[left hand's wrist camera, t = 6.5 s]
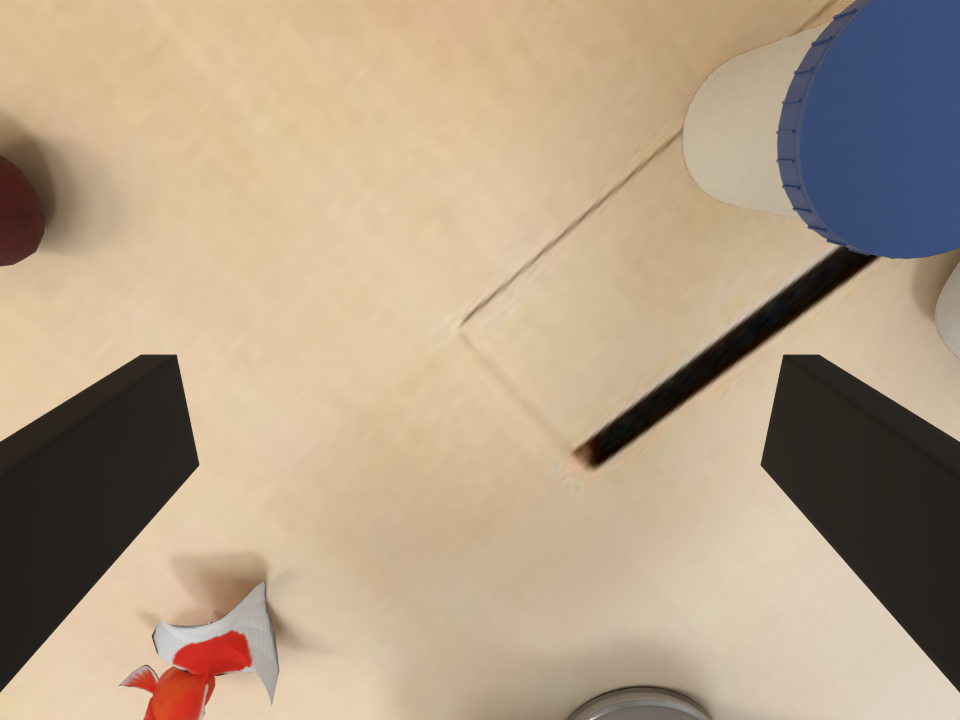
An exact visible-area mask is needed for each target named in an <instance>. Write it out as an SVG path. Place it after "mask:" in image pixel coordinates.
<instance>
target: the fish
mask: <svg viewBox="0 0 960 720" xmlns="http://www.w3.org/2000/svg"><path fill="white" fill-rule="evenodd" d="M265 595H266V590H265V581H262V582H261V583H260V584H258V585H257V586H256V587H255V588H254V589H253V590H252V591H251V592H250V593H249V594H248V595H247V596H246V597H245V598H244V599H243V600H242V601H241V603H239V604H238V605H237V606H236V607H235V608H234V609H232V610H231V611H230V612H229V613H228V614H226V615H225V616H224V617H223V618H221V619H220V620H219V621H216V622H212V623H211V619H212V613H211V616H210V619H209V622H208V624H206V625H196V626H178V625H169V624H167V623H165V622H162V621H159V623H158V625H157V627H156V629H155V631H154V633H153V635H152V639H153V642H154V645H155V648H156V651H157V653H158V654H159V655H160V656H161V657H162V658H163V659H164V660H165V661H167V662H168V663H170V664H171V665H173V667H171V668H170V669H168V670H167V671H166V672H164V673H163V675H162V676H161V677H160V679H159V678H158V676H157V675H156V673H155V672H154V670H153V669H152V668H151V667H150V666H148V665H144V666H142V667H140V668H139V669H137V670H135V671H134V672H132V673H131V674H130V675H129V676H128V677H127V678H126V679H125V680H124V681H123V682H122V683H121V684H120V685H123V686H128V687H136V688H140V689H144V690H146V691H148V692H150V693H152V694H153V697H152V698H151V699H150V701H149V704H148V708H147V711H146V714H145V717H144V720H202V719H203V717H204V713H205V705H206V704H207V702H208V701H209V699H210V697H211V695H212V692H213V690H214V688H215V677H214V676H220V675H224V674H228V673H233V672H237V671H244V672H256V673H257V674H258V675H259V676H260V678H261V679H262V681H263V683H264V685H265V687H266V689H267V692H268V694H269V697H270V700H271V705H272V702H273V697H274V692H275V688H276V683H277V678H278V674H279V664H278V656H277V647H276V639H275V634H274V631H273V627H272V623H271V620H270V616H269V612H268V609H267V605H266V601H265ZM120 685H119V686H120Z"/></svg>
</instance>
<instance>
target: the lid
mask: <svg viewBox="0 0 960 720" xmlns="http://www.w3.org/2000/svg"><path fill="white" fill-rule="evenodd" d="M833 18H834V20H833V21H832V22H831V23H830V24H829V25H828V26H827V27H826V28H825V30H824V31H823V32H822V33H821V34H820V35H819V37H818V38H817V39H816V41H813V42H812V43H811V45H812V46H811V47H810V49H809V50H808V52H807V53H806V55H805V57H804V58H803V60H802V62H801V63H800V65H799V67H798V69H797V70H796V71H794V73H793V74H795V75H794V77H793V79H792V81H791V84H790V86H789V88H788V91H787V94H786V97H785V100H784V101H782V104H783V106H782V111H781V116H780V121H779V126H778V131H776V134H778V137H777V156H778V159H777V160H776V162H778V165H779V171H780V177H781V180H782V183H783V186H782V188H784V189H785V192H786V194H787V196H788V198H789V200H790V202H791V204H792V206H793V207H794V208H792V209H793V211H796V212H797V213H798V214H799V216H800V217H801V218H802V220H803V221H804V222H805V223H806V224H807V225H808V228H809V229H812V230H814V231H815V232H817V233H818V234H820V235H821V236H822V237H824V238H826V239H827V242H830V243H833V244H837V245H841V246H844V247H847V248H849V250H850V251H854V252H858V253H861V254H865V255H870V254H873V255H877V256H883V257H888V258H892V259H895V258H903V259H910V258H921V257H928V256H933V255H937V254H942V253H945V252H948V251H951V250H954V249H957V248H960V0H856V1H855V2H853V3H852V4H850V5H849V6H848V7H847V8H846V9H845V10H844V11H842V12H841V13H840V14H838V15H835V16H834V17H833Z"/></svg>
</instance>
